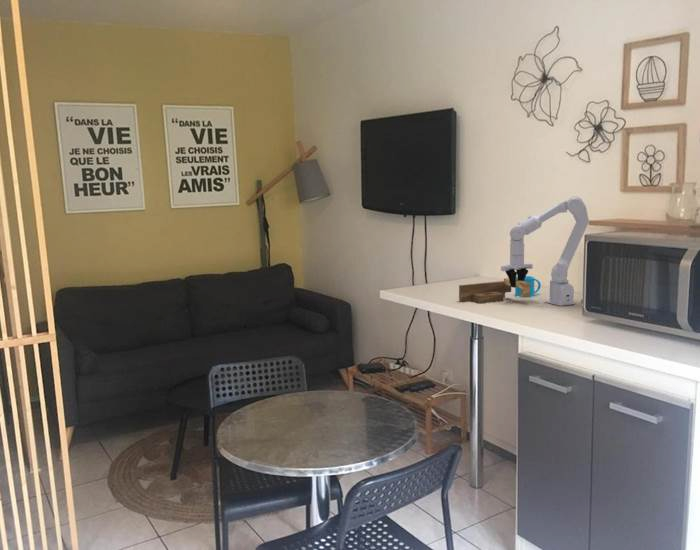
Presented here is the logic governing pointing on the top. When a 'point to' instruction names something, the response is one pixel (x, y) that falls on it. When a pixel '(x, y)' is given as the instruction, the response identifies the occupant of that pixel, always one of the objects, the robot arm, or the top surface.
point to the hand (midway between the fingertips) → (516, 286)
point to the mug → (531, 281)
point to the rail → (519, 284)
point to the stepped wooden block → (482, 292)
